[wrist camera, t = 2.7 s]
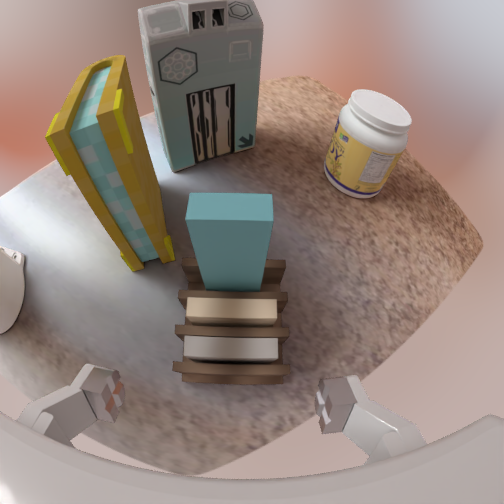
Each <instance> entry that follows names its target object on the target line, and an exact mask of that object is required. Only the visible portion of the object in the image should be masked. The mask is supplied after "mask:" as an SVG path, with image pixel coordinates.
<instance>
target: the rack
mask: <svg viewBox="0 0 504 504" xmlns="http://www.w3.org/2000/svg"><path fill="white" fill-rule="evenodd" d="M182 268H183V270H184V272H185V275H186V277H187V279H188V282H189V283H188V290H179V292H178V299H179V301H180V302H181V304H182V305H183V307H184V309H185V310H187V298H188V297H195V298H224V299H277V319H276V321H275V323H274V325H273V327H272V328H247V327H210V326H193V325H192V324H191V322H190V321H189V320H188V318H187V317H185V325H175V334H176V335H177V336H178V337H179V338H180V339H181V340H182V341H184V338H185V336H200V337H224V338H278V359H276V360H275V361H274V362H272V363H271V364H216V363H198V362H193V361H192V360H190V359H188V358H187V357H185V356H184V347H183V362H175V361H173V371H176V372H179V373H182V381H184V382H196V383H212V384H248V385H256V384H283V376H284V375H288V374H290V364H286V365H283V361H282V344H283V343H284V342H285V340H286V339H287V338H288V337H289V327H282V325H281V312H282V311H283V309H284V307H285V305H286V303H287V301H288V298H287V292H280V282H281V280H282V277H283V274H284V271H285V269H286V262H285V260H266V262H265V267H264V272H263V277H262V282H261V287H260V292H230V291H206V288H205V285H204V282H203V279H202V275H201V272H200V269H199V266H198V262H197V259H196V258H182Z"/></svg>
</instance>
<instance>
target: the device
mask: <svg viewBox="0 0 504 504" xmlns="http://www.w3.org/2000/svg"><path fill="white" fill-rule="evenodd" d="M138 16H139V24H140V31H141V38H142V45H143V51H144V57H145V63H146V69H147V74H148V79H149V85H150V90H151V95H152V100H153V105H154V110H155V114H156V119H157V124H158V128H159V132H160V137H161V141H162V145H163V150H164V153H165V155H166V158H167V160H168V163H169V165H170V168H171V170H172V172H176V171H179V170H182V169H185V168H188V167H191V166H194V165H195V164H198V163H201V162H204V161H207V160H211V159H214V158H217V157H220V156H224V155H227V154H231V153H236V152H239V151H243V150H246V149H250V148H254V146H255V138H256V124H257V110H258V96H259V82H260V68H261V67H260V66H261V53H262V41H263V22H262V19H261V17H260V15H259V12H258V10H257V8H256V6H255V3H254V1H253V0H178V1H172V2H167V3H162V4H157V5H153V6H149V7H144V8H140V9H138Z"/></svg>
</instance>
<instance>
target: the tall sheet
mask: <svg viewBox="0 0 504 504" xmlns="http://www.w3.org/2000/svg"><path fill="white" fill-rule="evenodd" d="M185 220H186V224H187V227H188V231H189V234H190V238H191V242H192V245H193V249H194V252H195V255H196V259H197V262H198V266H199V269H200V272H201V275H202V279H203V282H204V285H205V288H206V291H230V292H260V287H261V282H262V277H263V272H264V267H265V262H266V257H267V252H268V247H269V242H270V237H271V232H272V227H273V222H274V219H273V201H272V194H255V193H190V195H189V201H188V207H187V212H186V219H185Z"/></svg>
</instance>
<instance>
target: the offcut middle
mask: <svg viewBox="0 0 504 504" xmlns="http://www.w3.org/2000/svg"><path fill="white" fill-rule="evenodd" d="M186 317H187V318H188V320H189V321H190V322H191V324H192V325H193V326H210V327H247V328H272V327H273V325H274V323H275V321H276V319H277V299H224V298H195V297H188V298H187V310H186Z"/></svg>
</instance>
